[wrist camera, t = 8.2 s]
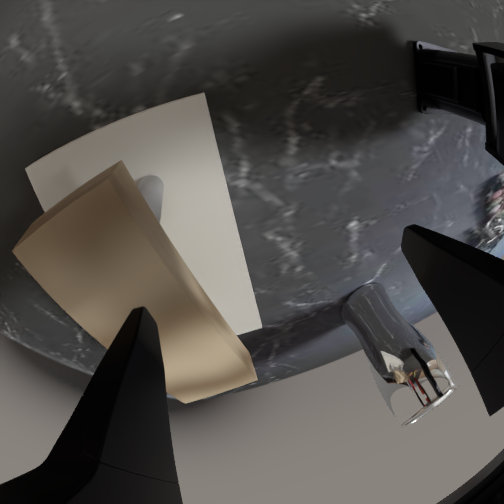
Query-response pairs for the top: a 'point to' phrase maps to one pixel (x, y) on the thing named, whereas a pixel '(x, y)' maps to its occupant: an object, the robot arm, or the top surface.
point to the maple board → (132, 282)
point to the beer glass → (397, 355)
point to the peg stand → (167, 192)
